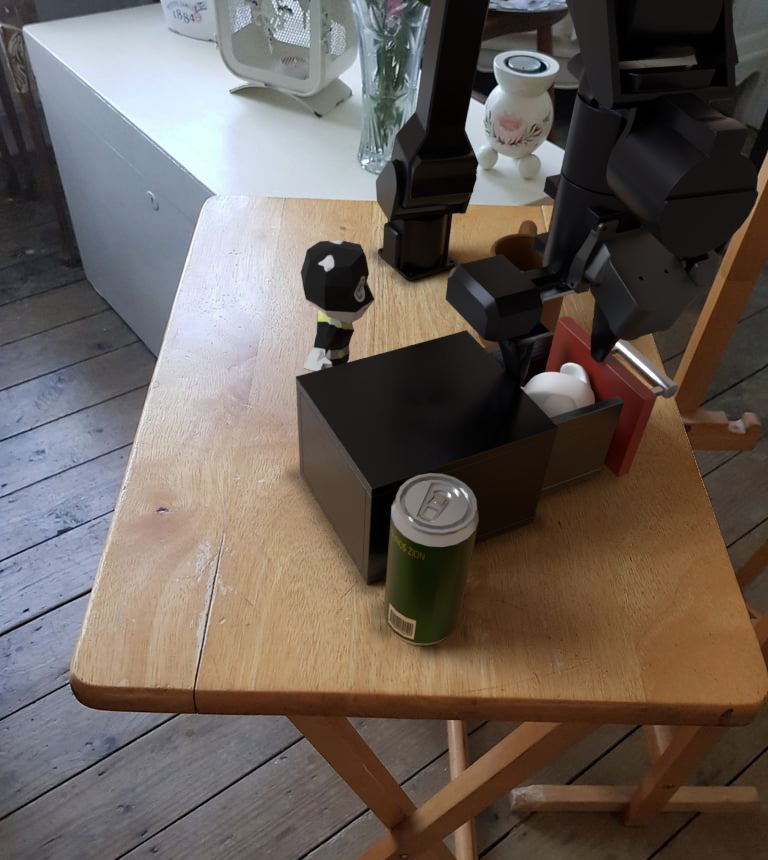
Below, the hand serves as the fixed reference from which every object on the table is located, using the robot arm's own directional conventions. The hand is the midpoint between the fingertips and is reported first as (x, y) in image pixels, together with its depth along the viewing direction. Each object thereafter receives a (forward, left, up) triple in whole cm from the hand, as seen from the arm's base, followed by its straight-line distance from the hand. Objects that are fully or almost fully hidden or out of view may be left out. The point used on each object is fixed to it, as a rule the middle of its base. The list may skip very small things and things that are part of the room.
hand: (556, 371), depth 63 cm
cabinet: (+12, -1, -9) cm, 15 cm away
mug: (-10, -16, -9) cm, 21 cm away
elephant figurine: (0, 0, -7) cm, 7 cm away
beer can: (+18, +9, -9) cm, 22 cm away
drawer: (-1, 0, -8) cm, 8 cm away
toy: (+11, -15, -9) cm, 21 cm away
